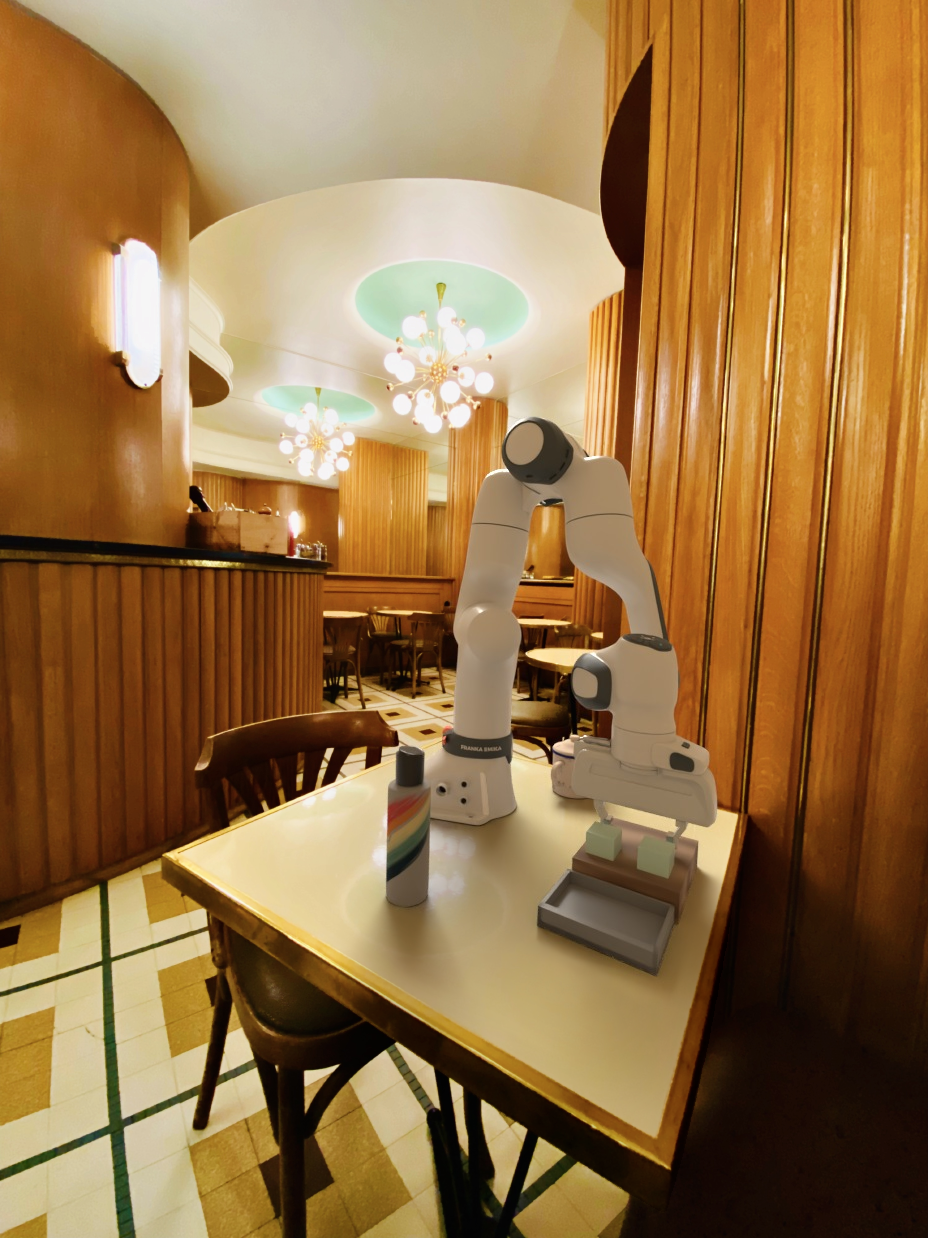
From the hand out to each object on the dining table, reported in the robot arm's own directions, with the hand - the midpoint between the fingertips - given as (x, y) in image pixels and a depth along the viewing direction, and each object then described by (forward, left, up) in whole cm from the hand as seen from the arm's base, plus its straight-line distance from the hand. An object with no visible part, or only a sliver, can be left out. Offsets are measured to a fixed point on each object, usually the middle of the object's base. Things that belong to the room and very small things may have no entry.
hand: (638, 837), depth 73 cm
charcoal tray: (-7, -13, -5) cm, 16 cm away
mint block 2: (+1, -6, -1) cm, 6 cm away
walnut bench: (0, -1, -5) cm, 5 cm away
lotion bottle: (-33, -10, -5) cm, 35 cm away
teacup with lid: (-7, +28, -5) cm, 29 cm away
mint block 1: (-6, -2, -1) cm, 6 cm away
